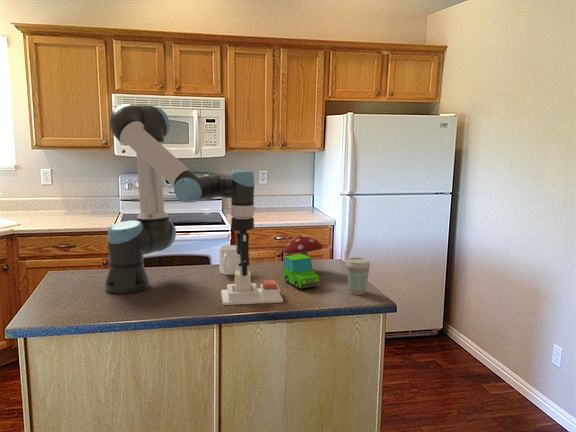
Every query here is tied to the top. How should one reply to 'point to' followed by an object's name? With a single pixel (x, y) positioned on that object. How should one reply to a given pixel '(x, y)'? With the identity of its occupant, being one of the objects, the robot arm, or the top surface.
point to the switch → (269, 284)
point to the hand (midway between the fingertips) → (242, 278)
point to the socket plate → (250, 295)
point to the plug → (242, 287)
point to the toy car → (300, 271)
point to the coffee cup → (357, 275)
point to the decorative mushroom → (302, 245)
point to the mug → (228, 259)
